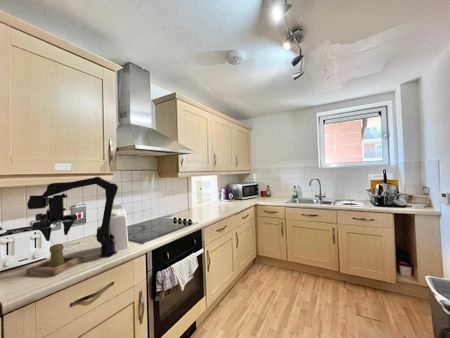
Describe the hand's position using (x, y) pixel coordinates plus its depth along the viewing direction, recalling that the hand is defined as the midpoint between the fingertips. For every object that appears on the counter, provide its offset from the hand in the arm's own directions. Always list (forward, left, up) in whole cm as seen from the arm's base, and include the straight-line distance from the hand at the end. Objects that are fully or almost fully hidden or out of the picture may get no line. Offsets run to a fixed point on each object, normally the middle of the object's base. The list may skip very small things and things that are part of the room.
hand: (57, 237), depth 101 cm
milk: (-23, +16, -13) cm, 31 cm away
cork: (+4, +4, -13) cm, 14 cm away
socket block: (+4, +4, -13) cm, 14 cm away
